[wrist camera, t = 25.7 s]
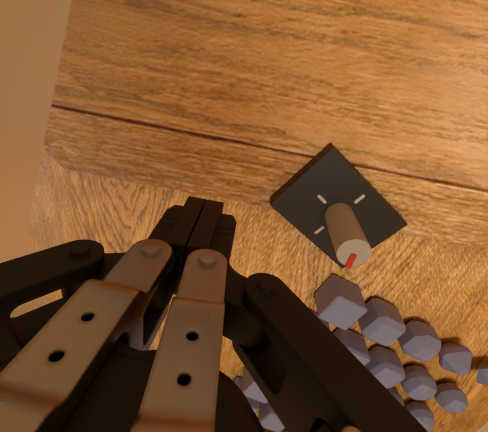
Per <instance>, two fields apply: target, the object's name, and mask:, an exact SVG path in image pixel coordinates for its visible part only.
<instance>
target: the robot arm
mask: <svg viewBox="0 0 488 432" xmlns="http://www.w3.org/2000/svg"><path fill="white" fill-rule="evenodd" d="M223 204H224V203H223V202H218V201H213V200H207V201H206V199H202V198H196V197H191V196H189V198H188V199H187V201H186V203H185V205H184V206H179V205H174V206H172V207H171V208H169V209H167V210H166V212H165V213H164V215H163V216H162V218H161V219H160V221H159V223H158V224H157V225H156V227H155V228H154V230H153V231H152V233H151V234H150V236H149V237H148V239H145V240H141V241H138V242H136V243H135V244H133V245H132V246H131V248H130V249H129V250H128V251H127V252H125V253H104V248H103V246H102V245H101V244H100V243H98V242H96V241H93V240H76V241H71V242H68V243H65V244H62V245H58V246H55V247H52V248H49V249H45V250H42V251H39V252H36V253H32V254H29V255H26V256H23V257H19V258H16V259H13V260H10V261H6V262H3V263H0V432H265V430H264V429H263V427H262V425H261V423H260V421H259V420H258V418H257V416H256V414H255V412H254V411H253V409H252V407H251V405H250V403H249V401H248V400H247V398H246V396H245V395H244V393H243V392H242V391H241V389H240V388H239V387H238V386H237V385H236V384H235V382H234V381H233V380H231V379H230V378H229V377H228V376H227V375H225V374H224V373H222V372H221V371H219V367H220V356H221V344H222V335H223V336H225V337H227V338H228V339H230V340H232V344H233V348H234V350H235V352H236V353H237V355H238V356H239V358H240V359H241V361H242V362H243V364H244V365H245V367H246V369H247V370H248V372H249V373H250V375H251V376H252V378H253V379H254V381H255V382H256V384H257V386H258V387H259V389H260V390H261V392H262V393H263V395H264V396H265V398H266V399H267V401H268V403H269V404H270V406H271V407H272V409H273V410H274V412H275V413H276V415H277V416H278V418H279V420H280V421H281V423H282V424H283V426H284V427H285V429H286V430H287V432H428V431H427V430H426V429H425V428H424V427H423V426H422V425H421V424H420V423H419V422H418V421H417V420H416V419H415V418H414V417H413V415H412V414H411V413H410V412H409V411H408V410H407V409H406V408H405V407H404V406H403V405H402V404H401V403H400V402H399V401H398V400H397V399H396V398H395V397H394V396H393V395H392V394H391V393H390V392H389V391H388V390H387V389H386V388H385V387H384V386H383V385H382V384H381V382H380V381H379V380H378V379H377V378H376V377H375V376H374V375H373V374H372V373H371V372H370V371H369V370H368V369H367V368H366V367H365V366H364V365H363V364H362V363H361V362H360V361H359V360H358V359H357V358H356V357H355V356H354V355H353V354H352V353H351V352H350V351H349V350H348V348H347V347H346V346H345V345H344V344H343V343H342V342H341V341H340V340H339V339H338V338H337V337H336V336H335V335H334V334H333V333H332V332H331V331H330V330H329V329H328V328H327V327H326V326H325V325H324V324H323V323H322V322H321V321H320V320H319V319H318V318H317V317H316V315H315V314H314V313H313V312H312V311H311V310H310V309H309V308H308V307H307V306H306V305H305V304H304V303H303V302H302V301H301V300H300V299H299V298H298V297H297V296H296V295H295V294H294V293H293V292H292V291H291V290H290V289H289V288H288V287H287V286H286V285H285V284H284V283H283V281H281V280H280V279H279V278H277V277H276V276H273V275H271V274H267V273H256V274H253V275H251V276H249V277H248V278H246V277H244V276H242V275H240V274H238V273H237V272H236V271H234V270H233V269H232V267H231V266H230V263H229V260H230V255H231V251H232V245H233V239H234V234H235V228H236V221H235V219H234V217H233V216H232V215H227V214H222V212H223ZM59 289H61V291H62V296H63V298H61V299H59V300H56V301H54V302H52V303H49V304H47V305H44V306H42V307H40V308H37V309H35V310H32V311H30V312H28V313H25V314H23V315H21V316H18V317H15V318H10V314H11V313H12V311H13V310H14V309H15V308H16V307H18V306H19V305H21V304H24V303H26V302H29V301H31V300H34V299H36V298H39V297H41V296H44V295H46V294H49V293H51V292H54V291H56V290H59ZM173 294H176V297H173V298H172V295H173ZM171 298H172V301H171V304H170V308H169V302H170V300H171ZM168 309H169V311H168ZM167 312H168V315H167V318H166V321H165V325H164V328H163V331H162V335H161V338H160V342H159V345H158V348H157V350H149V348H150V346H151V344H152V342H153V340H154V338H155V336H156V334H157V332H158V330H159V328H160V326H161V324H162V322H163V320H164V318H165V316H166V314H167Z"/></svg>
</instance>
